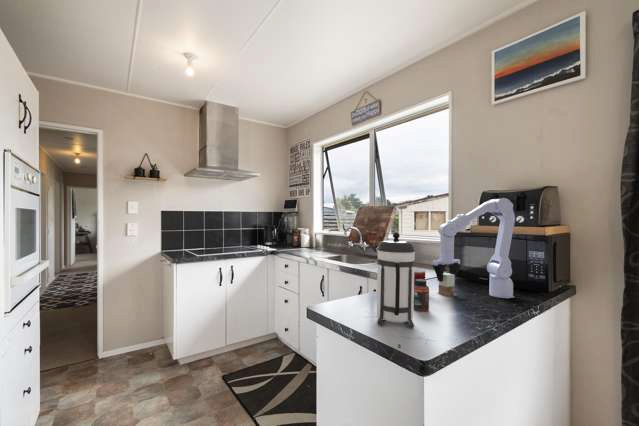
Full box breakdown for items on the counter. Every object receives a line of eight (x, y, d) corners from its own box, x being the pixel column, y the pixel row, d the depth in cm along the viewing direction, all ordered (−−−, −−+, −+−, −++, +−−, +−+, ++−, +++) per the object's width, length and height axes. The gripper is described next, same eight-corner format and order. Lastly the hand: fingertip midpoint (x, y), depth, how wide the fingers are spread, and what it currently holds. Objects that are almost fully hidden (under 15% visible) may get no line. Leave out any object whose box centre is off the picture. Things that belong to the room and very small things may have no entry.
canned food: (422, 292, 141) (423, 268, 141) (426, 297, 133) (427, 272, 133) (405, 291, 141) (406, 268, 141) (409, 296, 133) (409, 271, 133)
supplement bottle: (429, 308, 116) (430, 279, 116) (428, 313, 111) (428, 282, 111) (413, 306, 119) (414, 277, 119) (411, 310, 113) (411, 280, 113)
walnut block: (445, 292, 138) (445, 283, 138) (453, 294, 134) (454, 285, 134) (438, 293, 136) (438, 284, 136) (446, 295, 132) (446, 286, 132)
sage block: (446, 283, 138) (446, 272, 138) (454, 286, 134) (454, 274, 134) (439, 284, 136) (439, 273, 136) (447, 286, 132) (447, 275, 132)
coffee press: (360, 318, 104) (362, 231, 104) (395, 311, 112) (397, 230, 112) (396, 336, 89) (398, 235, 89) (433, 327, 97) (435, 234, 97)
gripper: (451, 248, 142) (450, 277, 142) (428, 249, 136) (427, 279, 136) (464, 250, 135) (463, 280, 135) (440, 251, 129) (439, 283, 129)
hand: (446, 280), depth 135 cm, fingers open, 7 cm apart
